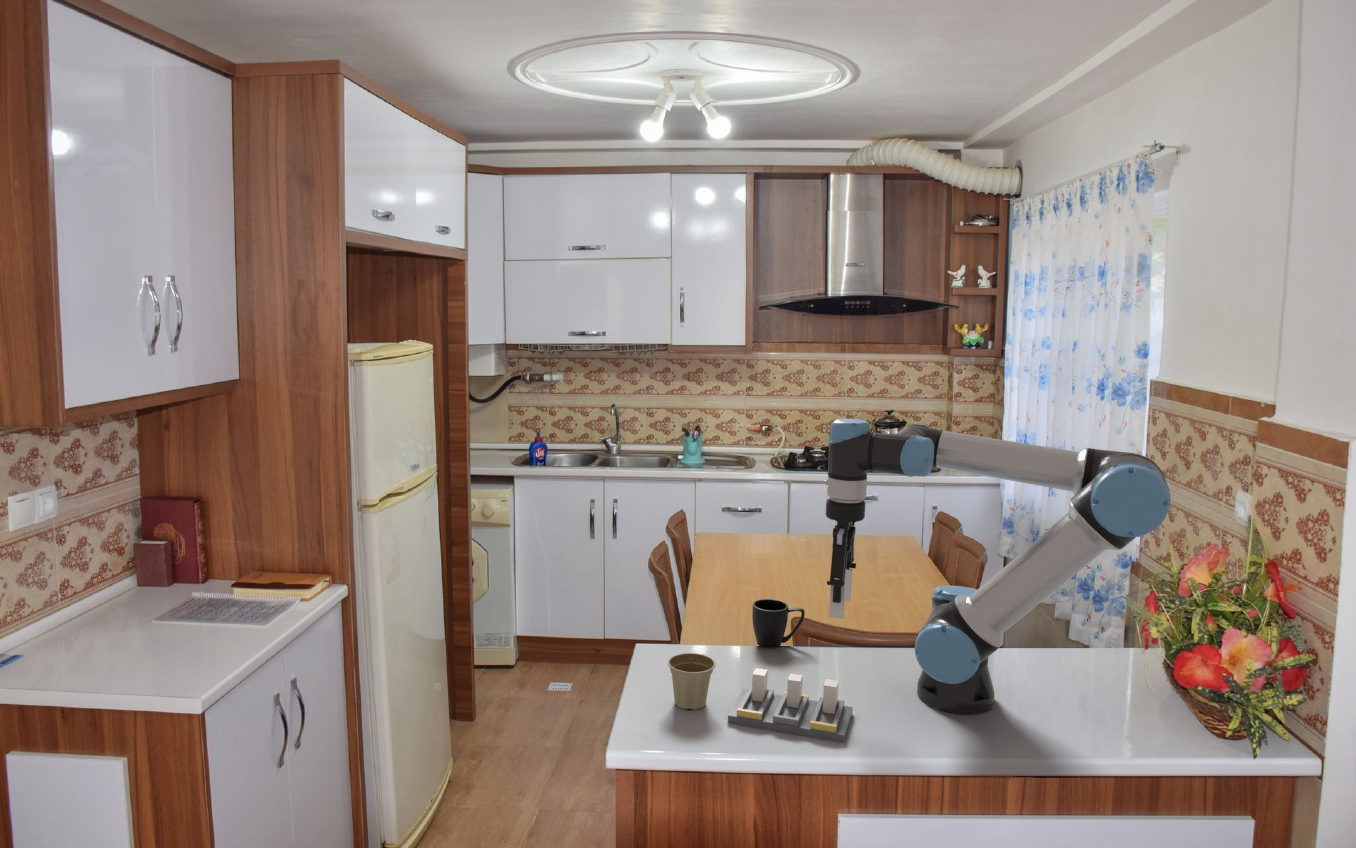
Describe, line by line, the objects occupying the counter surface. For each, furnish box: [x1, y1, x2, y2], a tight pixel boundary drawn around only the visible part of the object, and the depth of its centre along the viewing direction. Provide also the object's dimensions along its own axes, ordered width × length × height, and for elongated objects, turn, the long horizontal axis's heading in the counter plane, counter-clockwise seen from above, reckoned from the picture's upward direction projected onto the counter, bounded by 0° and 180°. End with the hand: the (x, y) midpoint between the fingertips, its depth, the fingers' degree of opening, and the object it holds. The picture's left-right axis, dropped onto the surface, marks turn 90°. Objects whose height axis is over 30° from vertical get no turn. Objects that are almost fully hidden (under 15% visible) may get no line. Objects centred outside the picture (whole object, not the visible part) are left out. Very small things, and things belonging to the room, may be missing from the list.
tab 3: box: [822, 678, 839, 714], centre depth 175 cm, size 2×3×6 cm
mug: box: [751, 598, 805, 649], centre depth 210 cm, size 8×12×10 cm
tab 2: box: [786, 673, 804, 708], centre depth 177 cm, size 2×3×6 cm
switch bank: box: [727, 685, 854, 744], centre depth 175 cm, size 22×12×3 cm, turn 72°
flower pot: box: [667, 652, 716, 711], centre depth 180 cm, size 9×9×9 cm
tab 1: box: [751, 667, 769, 702], centre depth 179 cm, size 2×3×6 cm
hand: (840, 608), depth 180 cm, fingers open, 10 cm apart
